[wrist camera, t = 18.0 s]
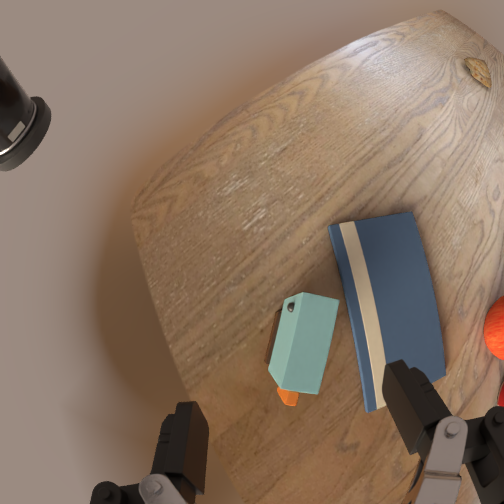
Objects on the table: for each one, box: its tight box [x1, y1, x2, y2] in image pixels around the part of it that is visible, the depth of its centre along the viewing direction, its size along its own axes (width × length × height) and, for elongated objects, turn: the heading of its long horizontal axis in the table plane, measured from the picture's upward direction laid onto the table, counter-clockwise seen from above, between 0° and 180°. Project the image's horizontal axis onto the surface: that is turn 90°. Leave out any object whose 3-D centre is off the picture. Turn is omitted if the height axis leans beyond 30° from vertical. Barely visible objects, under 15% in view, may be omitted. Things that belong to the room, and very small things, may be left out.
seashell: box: [464, 58, 492, 88], centre depth 35 cm, size 8×6×8 cm
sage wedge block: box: [265, 292, 339, 406], centre depth 20 cm, size 7×3×8 cm, turn 167°
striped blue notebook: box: [328, 211, 446, 413], centre depth 24 cm, size 18×10×1 cm, turn 12°
